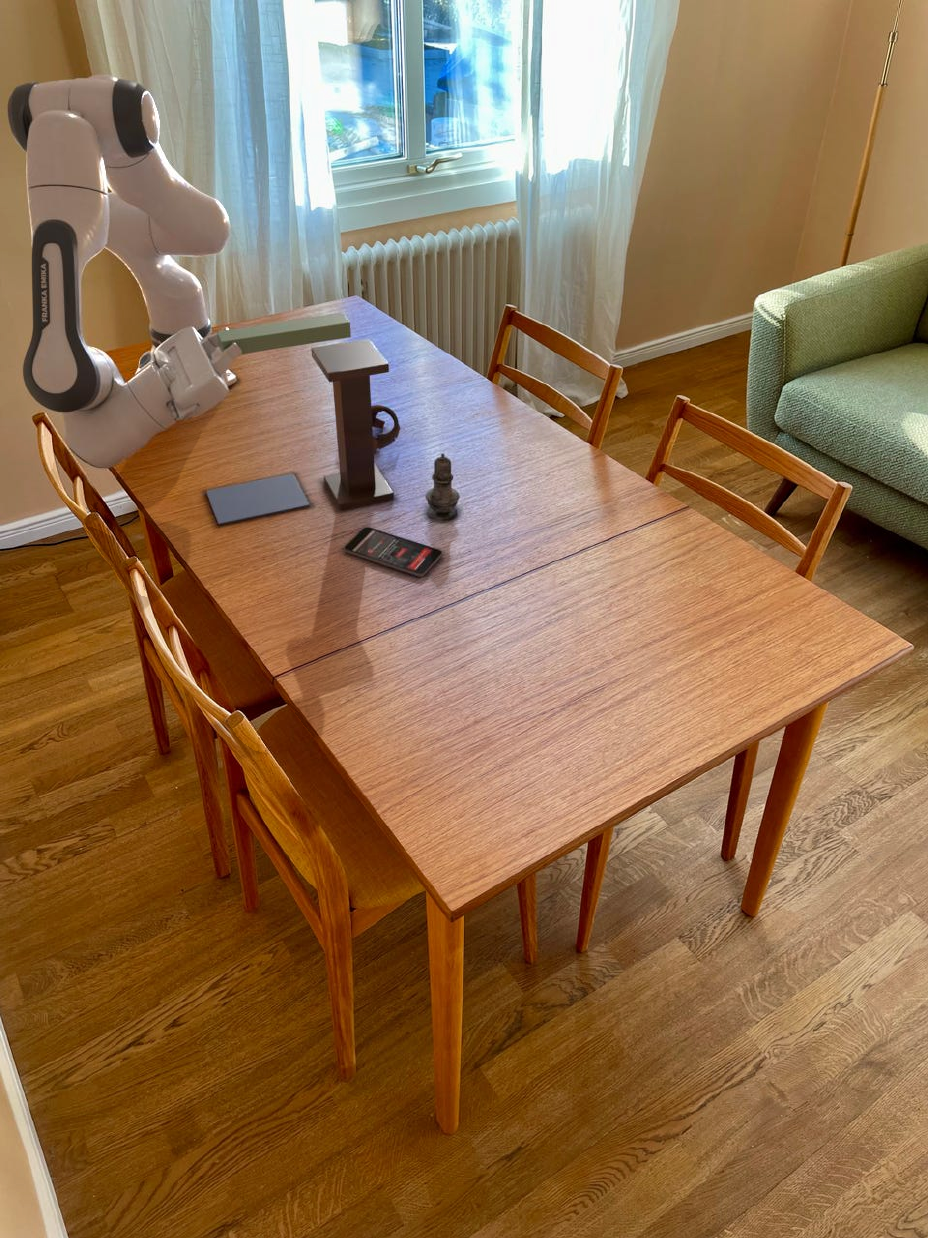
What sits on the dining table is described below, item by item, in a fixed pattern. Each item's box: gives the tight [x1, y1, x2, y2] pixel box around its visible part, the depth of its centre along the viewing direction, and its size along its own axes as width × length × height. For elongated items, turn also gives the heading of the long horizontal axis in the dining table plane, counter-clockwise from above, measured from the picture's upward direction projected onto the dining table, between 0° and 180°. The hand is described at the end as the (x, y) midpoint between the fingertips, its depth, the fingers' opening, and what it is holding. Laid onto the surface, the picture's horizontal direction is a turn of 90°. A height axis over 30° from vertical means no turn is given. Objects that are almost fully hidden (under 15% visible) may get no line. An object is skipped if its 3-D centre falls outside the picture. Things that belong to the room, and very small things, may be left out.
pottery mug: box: [371, 404, 402, 453], centre depth 181 cm, size 12×10×8 cm
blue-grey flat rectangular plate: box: [205, 472, 310, 526], centre depth 167 cm, size 11×16×1 cm
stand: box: [310, 338, 395, 512], centre depth 161 cm, size 10×10×26 cm
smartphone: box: [343, 526, 443, 578], centre depth 156 cm, size 7×1×15 cm
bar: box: [216, 312, 352, 355], centre depth 146 cm, size 4×20×2 cm, turn 113°
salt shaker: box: [425, 452, 461, 523], centre depth 161 cm, size 6×6×12 cm
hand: (234, 338), depth 144 cm, fingers closed on bar, 4 cm apart
